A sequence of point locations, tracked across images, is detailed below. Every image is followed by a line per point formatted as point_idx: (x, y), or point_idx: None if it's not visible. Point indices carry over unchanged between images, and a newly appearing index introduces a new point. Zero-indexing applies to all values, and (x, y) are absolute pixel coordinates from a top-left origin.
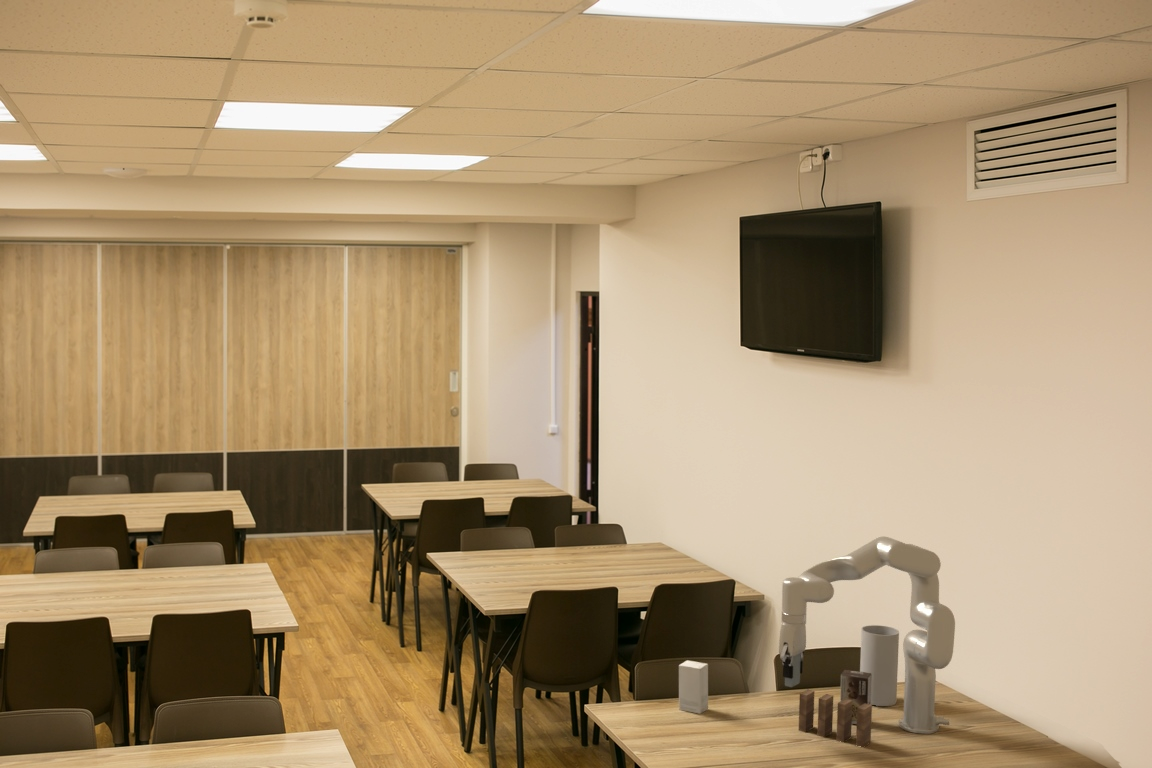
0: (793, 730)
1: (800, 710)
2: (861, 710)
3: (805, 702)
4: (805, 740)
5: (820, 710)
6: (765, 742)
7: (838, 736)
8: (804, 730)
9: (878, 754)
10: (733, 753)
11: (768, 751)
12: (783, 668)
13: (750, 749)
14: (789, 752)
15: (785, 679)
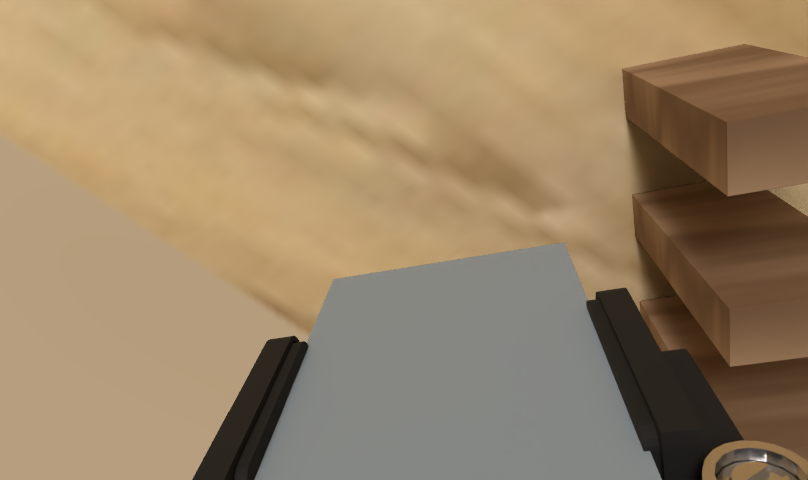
0: (598, 46)
1: (669, 103)
2: None
3: (699, 165)
4: (509, 197)
5: (690, 278)
6: (290, 71)
7: (649, 323)
8: (627, 113)
9: None
10: (14, 68)
11: (210, 171)
12: (226, 428)
13: (139, 89)
14: (298, 247)
15: (319, 328)
